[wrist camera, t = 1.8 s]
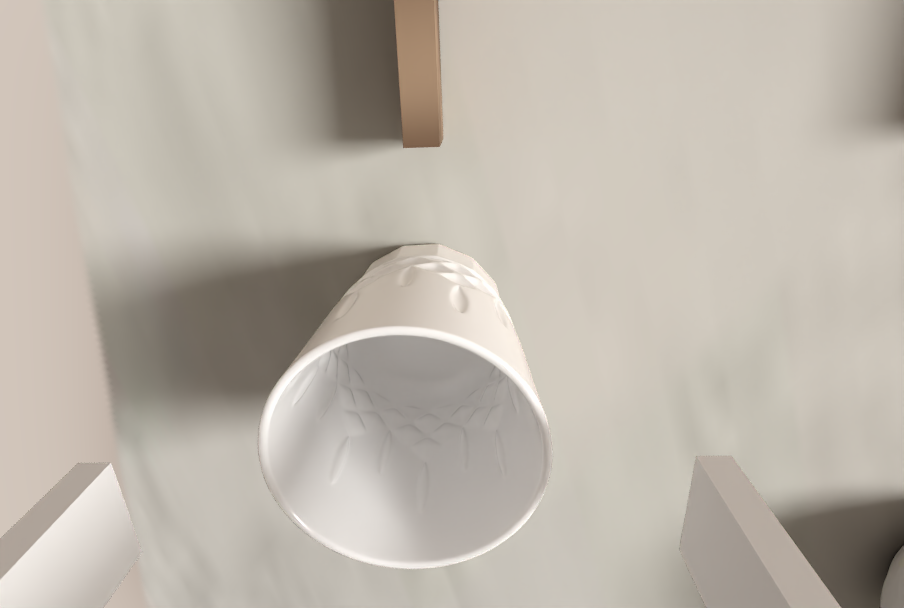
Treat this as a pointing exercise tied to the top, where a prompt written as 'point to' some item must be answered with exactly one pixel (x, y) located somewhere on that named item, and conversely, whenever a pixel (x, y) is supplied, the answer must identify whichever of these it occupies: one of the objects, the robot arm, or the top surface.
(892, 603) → the teacup
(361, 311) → the white cup
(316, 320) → the top surface
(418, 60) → the brown wooden open frame
